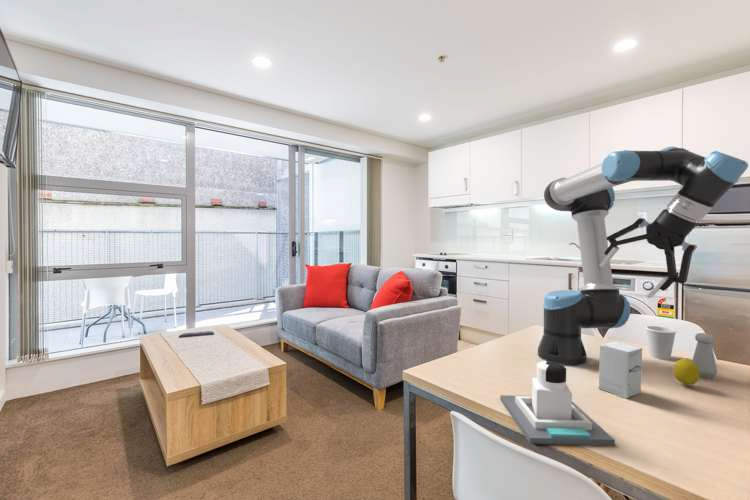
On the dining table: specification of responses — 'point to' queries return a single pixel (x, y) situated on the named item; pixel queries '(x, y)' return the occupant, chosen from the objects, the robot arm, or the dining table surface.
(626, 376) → the supplement box
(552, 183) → the robot arm
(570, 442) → the dock
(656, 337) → the dixie cup
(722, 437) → the dining table surface
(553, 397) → the medicine bottle
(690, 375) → the lemon
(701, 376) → the salt shaker
